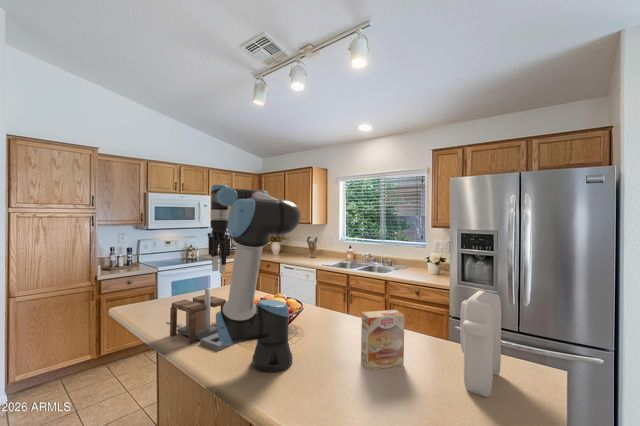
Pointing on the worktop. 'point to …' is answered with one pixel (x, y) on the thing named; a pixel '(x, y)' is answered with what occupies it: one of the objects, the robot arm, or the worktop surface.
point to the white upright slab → (481, 341)
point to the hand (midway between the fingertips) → (218, 271)
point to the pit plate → (213, 342)
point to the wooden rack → (191, 313)
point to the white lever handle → (201, 321)
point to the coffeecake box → (382, 339)
